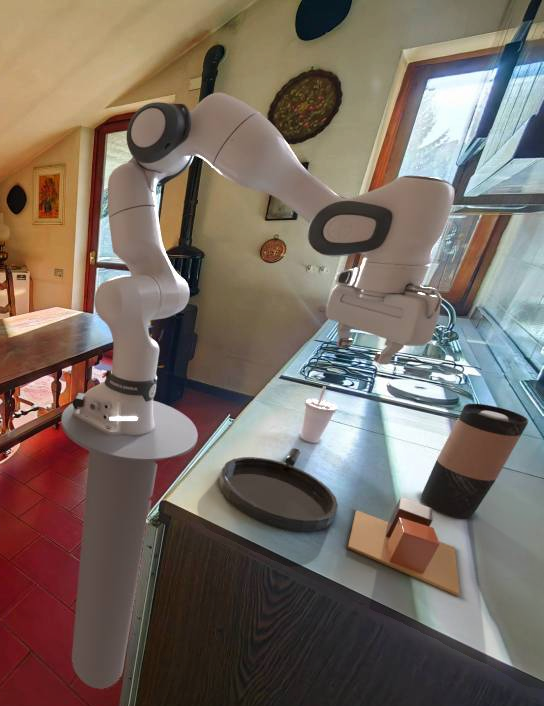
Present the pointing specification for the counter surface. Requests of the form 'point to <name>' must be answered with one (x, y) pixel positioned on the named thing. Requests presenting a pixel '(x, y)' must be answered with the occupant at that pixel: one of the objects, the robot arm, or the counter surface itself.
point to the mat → (372, 543)
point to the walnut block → (409, 514)
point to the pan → (278, 494)
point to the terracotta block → (412, 545)
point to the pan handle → (291, 458)
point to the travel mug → (472, 459)
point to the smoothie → (316, 418)
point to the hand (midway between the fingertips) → (360, 354)
